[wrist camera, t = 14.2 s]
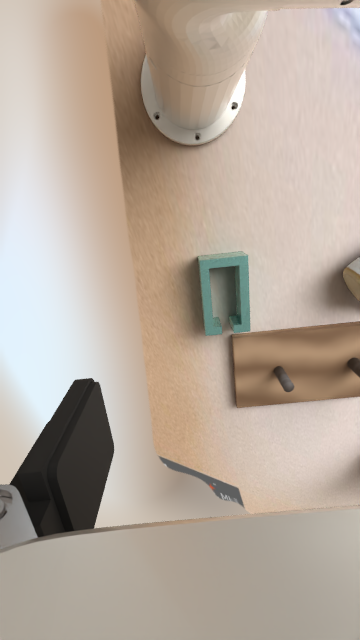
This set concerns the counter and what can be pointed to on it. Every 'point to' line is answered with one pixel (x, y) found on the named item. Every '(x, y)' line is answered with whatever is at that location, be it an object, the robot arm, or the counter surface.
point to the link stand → (297, 364)
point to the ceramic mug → (353, 277)
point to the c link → (242, 291)
